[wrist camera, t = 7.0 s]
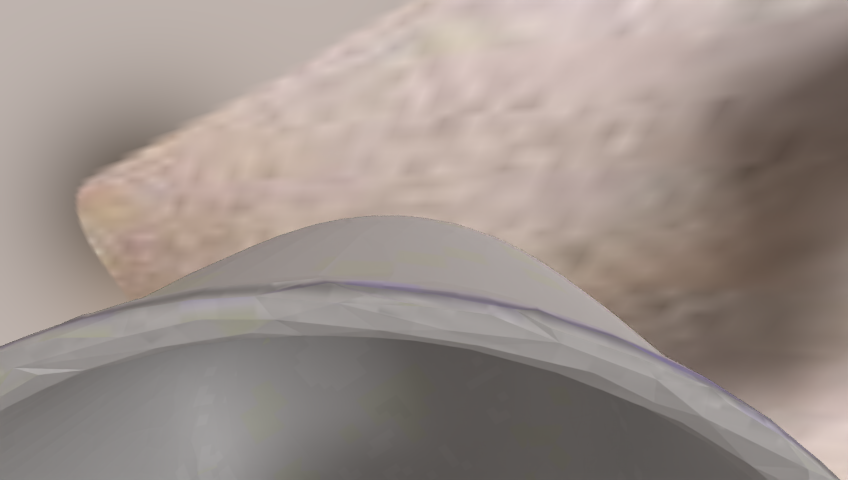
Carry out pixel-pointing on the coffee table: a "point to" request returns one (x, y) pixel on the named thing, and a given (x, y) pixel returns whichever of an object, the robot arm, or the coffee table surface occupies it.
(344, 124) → the coffee table surface
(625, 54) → the coffee table surface
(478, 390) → the teacup
